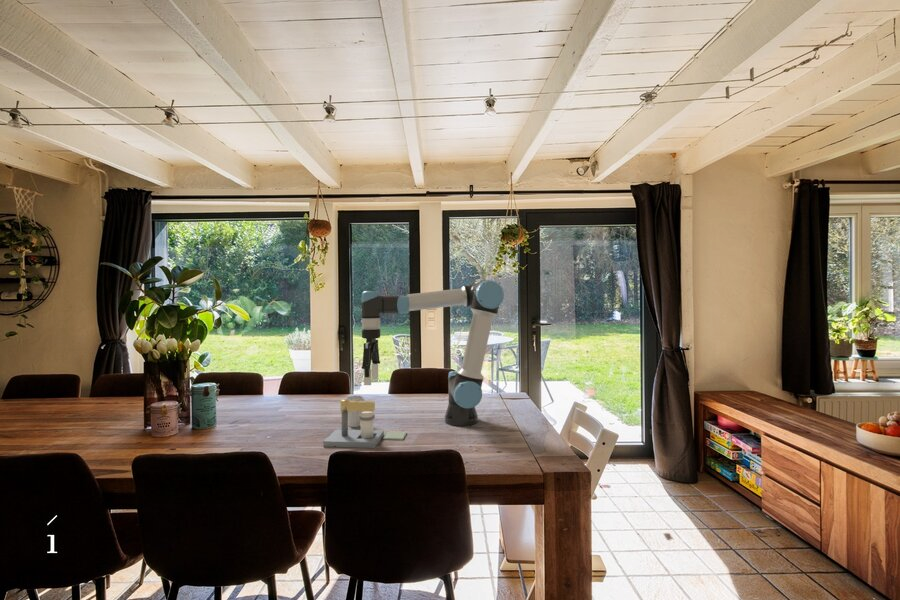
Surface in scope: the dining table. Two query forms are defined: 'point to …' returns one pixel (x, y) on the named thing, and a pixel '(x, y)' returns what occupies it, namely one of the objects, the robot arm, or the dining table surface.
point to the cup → (354, 412)
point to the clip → (357, 405)
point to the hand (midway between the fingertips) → (371, 382)
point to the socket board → (351, 436)
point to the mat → (394, 435)
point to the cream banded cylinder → (367, 425)
